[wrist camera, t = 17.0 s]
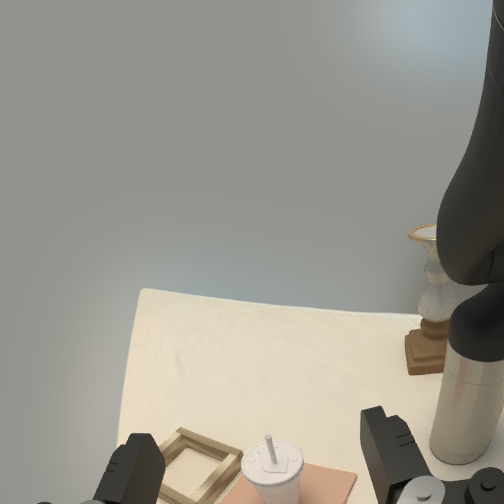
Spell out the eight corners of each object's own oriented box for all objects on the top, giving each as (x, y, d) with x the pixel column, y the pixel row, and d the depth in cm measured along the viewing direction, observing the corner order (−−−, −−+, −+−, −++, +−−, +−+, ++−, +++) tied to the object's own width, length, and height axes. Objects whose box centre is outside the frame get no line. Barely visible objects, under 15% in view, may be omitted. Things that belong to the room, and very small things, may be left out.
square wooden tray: (186, 439, 45) (180, 426, 44) (246, 462, 38) (241, 450, 38) (138, 483, 35) (130, 471, 35) (198, 518, 29) (190, 508, 29)
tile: (262, 454, 40) (261, 451, 39) (356, 476, 32) (356, 473, 32) (205, 524, 28) (203, 521, 28) (310, 565, 21) (310, 563, 21)
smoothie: (277, 532, 26) (255, 470, 22) (246, 501, 31) (218, 432, 27) (321, 502, 29) (314, 432, 25) (287, 475, 34) (271, 402, 31)
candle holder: (465, 369, 45) (477, 236, 39) (408, 375, 49) (410, 242, 43) (454, 337, 55) (458, 220, 49) (404, 342, 58) (401, 225, 52)
